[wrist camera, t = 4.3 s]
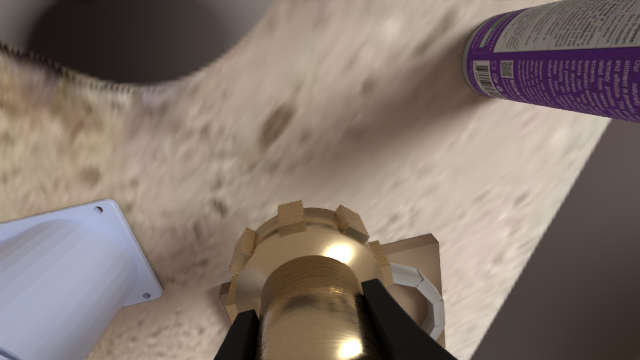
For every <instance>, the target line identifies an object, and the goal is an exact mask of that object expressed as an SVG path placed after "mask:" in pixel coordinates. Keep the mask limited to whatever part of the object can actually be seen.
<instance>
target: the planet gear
mask: <svg viewBox="0 0 640 360" xmlns="http://www.w3.org/2000/svg"><path fill="white" fill-rule="evenodd" d="M368 238H369V234H368V232H367V230H366V228H365V226H364V224H363V222H362V220H361V218H360V216H359V214H357V213H355V212H353V211H351V210H350V209H348V208H346V207H344V206H342V205H339V207H338V208H337V210H336V211H335V212H334V211H331V210H327V209H322V208H304V207H303V204H302V200H299V201H295V202H291V203H287V204H283V205H278V215H277V216H275V217H273V218H271V219H270V220H268V221H267V222H265V223H264V224H263V225H261V226H260V227H259V228H258V229H257V230H256V231H253V230H251V229H249V228H246V229H245V231H244V232H243V234H242V236H241V237H240V239H239V240H238V242H237V244H236V245H235V249H234V253H233V257H232V260H231V264H230V268H229V272H230V273H232V274H235V275H236V276H233V277H232V281H231V285H230V289H229V294H228V298H227V302H226V306H225V307H226V309H227V311H228V313H229V316H230V318H231V320H232V322H234V320H235V318H236V316H237V314H238V313H240V312H244V311H248V310H252V309H255V311H256V314H257V316H258V319H259V323H258V333H257V343H256V353H255V360H385V358H384V355H383V352H382V349H381V346H380V343H379V340H378V337H377V334H376V331H375V328H374V325H373V322H372V320H371V317H370V314H369V311H368V308H367V305H366V302H365V299H364V296H363V291H362V286H361V282H364V281H368V280H372V279H376V278H377V279H379V280H380V281H381V283H382V284H383V285H384V286H388V285H392V284H394V283H393V276H392V270H391V264H390V262H389V261H388V259H387V257H386V255H385V253H384V251H383V249H382V247H381V245H380V243H379V241H378V240H377V241H373V242H368Z"/></svg>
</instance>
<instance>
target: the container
mask: <svg viewBox="0 0 640 360" xmlns="http://www.w3.org/2000/svg"><path fill="white" fill-rule="evenodd" d="M462 70H463V75H464V78H465V80H466V82H467V84H468V85H469V86H470V88H471V89H472V90H474V91H475V92H477V93H478V94H481V95H484V96H489V97H494V98H500V99H506V100H511V101H517V102H523V103H529V104H534V105H540V106H546V107H551V108H557V109H563V110H568V111H574V112H580V113H586V114H591V115H597V116H603V117H608V118H614V119H620V120H626V121H632V122H637V123H640V0H562V1H557V2H553V3H548V4H544V5H539V6H535V7H530V8H525V9H521V10H516V11H512V12H507V13H503V14H499V15H496V16H493V17H491V18H489V19H488V20H486V21H484V22H483V23H482V24H481V25H480V26H479V27H478V28H477V29H476V30H475V31H474V32H473V34H472V35H471V37H470V38H469V40H468V42H467V44H466V46H465V49H464V53H463V58H462Z"/></svg>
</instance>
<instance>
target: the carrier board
mask: <svg viewBox="0 0 640 360" xmlns="http://www.w3.org/2000/svg"><path fill="white" fill-rule="evenodd" d="M381 247H382V249H383V251H384V253H385V255H386V257H387V259H388V261H389V262H390V264H391V270H392V276H393V283H394V284H392V285H388V286H384V287H385V288H386V289H387V291H388V292H389V293H390V294H391V296H392V297H393V298H394V299H395V300H396V301H397V303H398V304H399V305H400V306H401V307H402V308H403V309H404V310H405V311H406V312H407V313H408V314H409V316H410V317H411V318H412V319H413V320H414V321H415V322H416V323H417V324H418V325H419V326H420V327H421V328H422V329H423V330H424V331H426V332H427V333H428V334H429V335H430V336H431V337H432V338H433V339H434V340H435V341H436V342H438V343H439V344H440V345H441V346H442V347H443V348H445V332H444V325H445V314H444V300H443V298H442V285H441V270H440V254H439V242H438V241H437V240H436V238H435V237H434V236H433V235H432V234H431V233H430V234H426V235H422V236H418V237H414V238H410V239H406V240H402V241H397V242H393V243H389V244H385V245H381ZM230 285H231V282H229V283H225V284H222V288H221V291H220V295H219V296H220V299H221V301H222V303H223V305H224V308H225V310H226V312H227V315H228V317H229V319H230V321H231V324H233V322H232V320H231V318H230V316H229V313H228V311H227V309H226V307H225V306H226V302H227V298H228V294H229V289H230Z"/></svg>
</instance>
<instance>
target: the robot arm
mask: <svg viewBox="0 0 640 360" xmlns="http://www.w3.org/2000/svg"><path fill="white" fill-rule="evenodd" d="M97 206H99V207H101V208H102V209H103V211H101V210H99V209H98V208H97ZM361 286H362V291H363V296H364V299H365V302H366V305H367V308H368V311H369V314H370V317H371V320H372V322H373V325H374V328H375V331H376V334H377V337H378V340H379V343H380V346H381V349H382V352H383V355H384V358H385V360H458V359H456V358H455V357H454V356H453V355H452V354H450V353H449V352H448V351H447V350H446V349H444V348H443V347H442V346H441V345H440V344H439V343H438V342H436V341H435V340H434V339H433V338H432V337H431V336H430V335H429V334H428V333H427V332H426V331H424V330H423V329H422V328H421V327H420V326H419V325H418V324H417V323H416V322H415V321H414V320H413V319H412V318H411V317H410V316H409V314H408V313H407V312H406V311H405V310H404V309H403V308H402V307H401V306H400V305H399V304H398V303H397V301H396V300H395V299H394V298H393V297H392V296H391V294H390V293H389V292H388V291H387V289H386V288H385V287H384V285H383V284H382V283H381V281H380V280H379V279H377V278H376V279H372V280H368V281H364V282H361ZM146 293H149V294H150V295H148V294H146ZM162 293H163V289H162V287H161V285H160V283H159V282H158V280H157V278H156V276H155V274H154V272H153V270H152V268H151V267H150V265H149V263H148V261H147V259H146V257H145V255H144V253H143V251H142V250H141V248H140V246H139V244H138V242H137V240H136V238H135V236H134V234H133V233H132V231H131V229H130V227H129V225H128V223H127V221H126V219H125V218H124V216H123V214H122V212H121V210H120V208H119V206H118V204H117V203H116V202H115V201H114V200H112V199H102V200H98V201H94V202H89V203H85V204H81V205H76V206H72V207H68V208H64V209H59V210H55V211H51V212H47V213H42V214H38V215H34V216H29V217H25V218H21V219H17V220H12V221H8V222H4V223H0V360H86V359H87V357H88V356H89V354H90V353H91V351H92V350H93V348H94V347H95V345H96V344H97V342H98V341H99V339H100V338H101V336H102V335H103V333H104V332H105V330H106V329H107V327H108V326H109V324H110V323H111V321H112V320H113V318H114V317H115V315H116V314H117V312H118V311H119V309H120V308H122V307H126V306H130V305H134V304H138V303H143V302H147V301H151V300H155V299H158V298H160V297H161V295H162ZM258 323H259V319H258V316H257V314H256V311H255V309H252V310H248V311H244V312H240V313H238V314H237V316H236V318H235V320H234V322H233V324H232V326H231V328H230V329H229V331H228V333H227V335H226V337H225V339H224V341H223V343H222V345H221V347H220V349H219V351H218V352H217V354H216V356H215V358H214V360H255V353H256V343H257V333H258Z"/></svg>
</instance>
